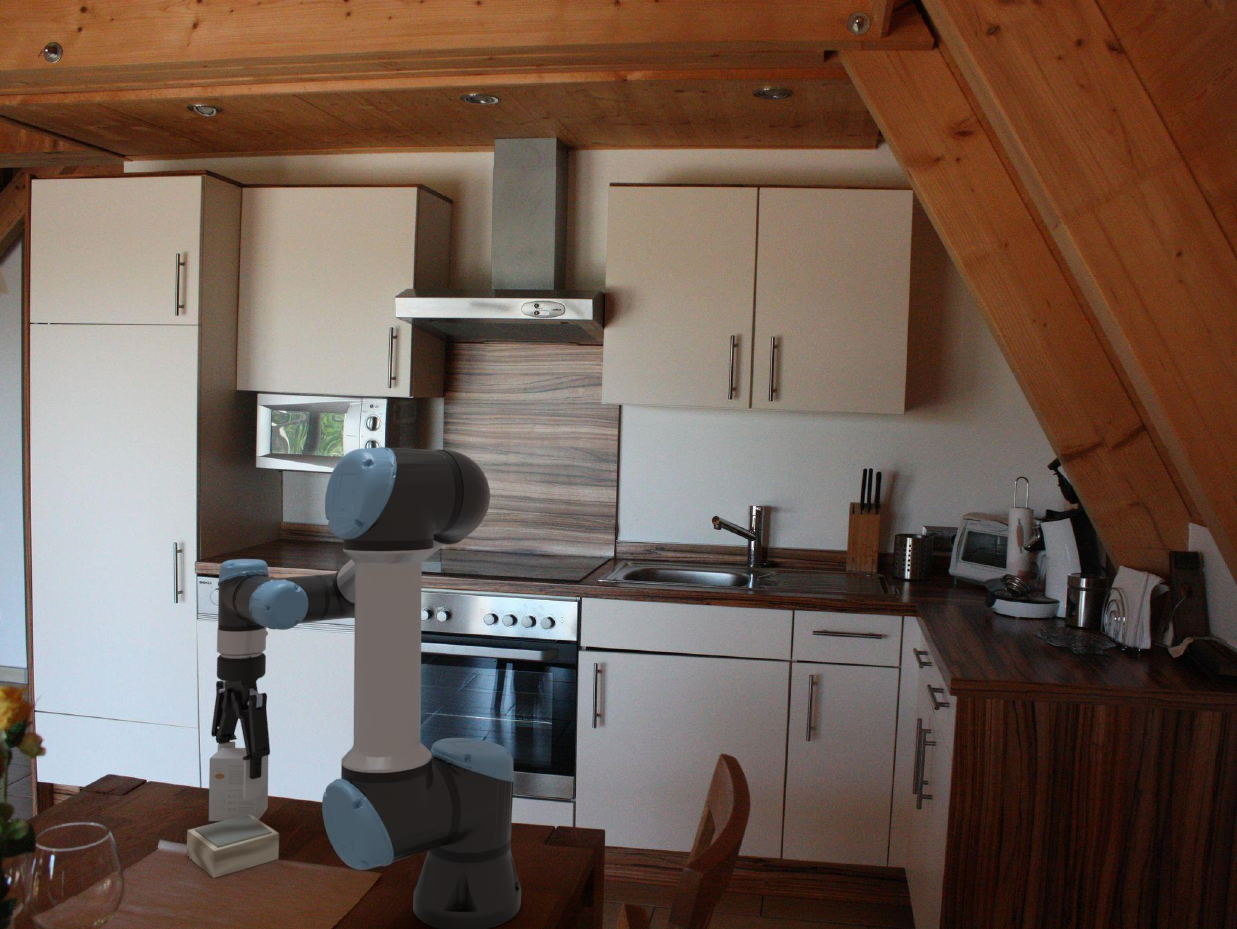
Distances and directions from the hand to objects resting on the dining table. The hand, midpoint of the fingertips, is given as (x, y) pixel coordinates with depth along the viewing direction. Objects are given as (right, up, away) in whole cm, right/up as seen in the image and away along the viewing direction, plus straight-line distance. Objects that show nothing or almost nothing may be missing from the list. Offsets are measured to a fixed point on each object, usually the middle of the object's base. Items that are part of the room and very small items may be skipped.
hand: (238, 789), depth 159 cm
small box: (0, -5, 0) cm, 5 cm away
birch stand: (+3, -7, -10) cm, 13 cm away
